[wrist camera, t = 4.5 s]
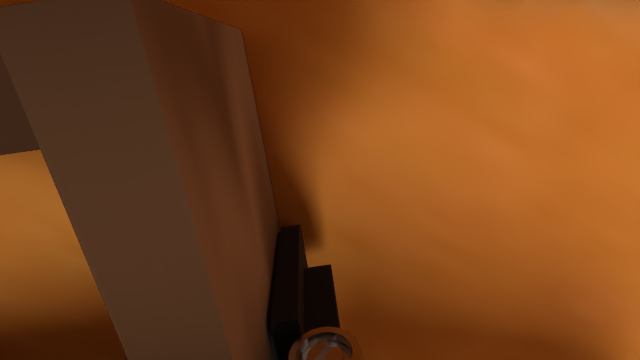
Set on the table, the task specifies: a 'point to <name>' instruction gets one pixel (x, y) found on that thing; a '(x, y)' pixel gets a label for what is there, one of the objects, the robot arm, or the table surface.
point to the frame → (150, 166)
